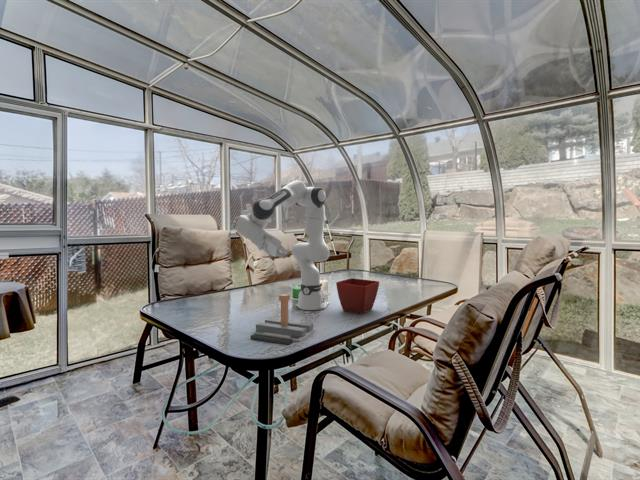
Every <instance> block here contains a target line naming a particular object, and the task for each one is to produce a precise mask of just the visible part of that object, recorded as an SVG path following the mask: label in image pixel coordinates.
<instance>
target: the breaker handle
mask: <svg viewBox="0 0 640 480" xmlns="http://www.w3.org/2000/svg"><path fill="white" fill-rule="evenodd" d="M290 300H291V294H289V293H282V294H280V295H278V301H280V319H281V325H285V326H288V320H289V301H290Z"/></svg>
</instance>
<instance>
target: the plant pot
mask: <svg viewBox="0 0 640 480" xmlns="http://www.w3.org/2000/svg"><path fill="white" fill-rule="evenodd" d="M335 283H336V290H337V295H338V299H339V302H340V305H341V309H342V311H344V312H348V311H349V313H353V312H356V313H355V314H359V313H363V314H365V313H367V312H366V311H368V310H370V309H372V310H373V307H374V305H375V301H376V298H377V294H378V291H379V286H380V281H379V280H378V281H377V280H368V279H360V278H352V277H351V278H347V279H344V280H340V281H336V282H335ZM370 311H371V310H370ZM364 312H365V313H364ZM368 312H369V311H368Z"/></svg>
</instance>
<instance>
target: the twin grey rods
mask: <svg viewBox="0 0 640 480" xmlns="http://www.w3.org/2000/svg"><path fill="white" fill-rule="evenodd" d="M250 339H251V340H255V341H256V340H257V341H264V342H268V343H269V342H271V343H276V344H282V345H290V344H292V343H293V341H294V340H292V339H288V338H281V337H275V336H268V335H261V334H251V335H250Z"/></svg>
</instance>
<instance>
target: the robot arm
mask: <svg viewBox="0 0 640 480" xmlns="http://www.w3.org/2000/svg"><path fill="white" fill-rule="evenodd" d="M326 201H327V193H326V190H325V189H324V188H323V187H320V186H307V185H306V184H305V183H304V182H303V181H302V180H299V179H297V180H293V181H291V182H289V183H288V184H286V185H284V186H283V187H282V188H281V189H279V190H277V191H275V192H274V193H272V194H271V195H269V196H267V197H264V198H259V199H257V200H256V201H254V203H253V205H252V206H253V207H252V210H251V213H248V214H244V215H243V214H240V215H239V216H238V217H237V218H236V220H235V223H234V229H235V231H236V232H237V233H238V234H239V235H241V236H242V237H243V238H244V239H247V240H249V241H250V242H251V243H252V244H253V245H255V246H256V247H257V248H258V249H259V250H260V251H263V252H265V253H266V254H268V255H270V256H271V257H275V258H276V256H277V257H280V258H281V259H282V260H283V259H284V260H285V258H286V257H287V254H288V252H289V251H288V250H287V249H286V248H285V247H284V246H283V245H282V242H283V241H281V240H280V239H278V238H277V237H275V236H274V235H272V233H270V232H269V231H267V230H266V229H265V228H266V227H267V226H268V224H269V222H270V221H271V220H270V219H271V217H272V216H273V214H274V212H275V210H276V209H275V208H277V207H278V206H280V205H281V206H282V207H284V208H291V207H293V206H294V205H295V206H298V207H307V213H306V218H305V222H304V223H305V224H304V233H305V235H307V236H308V241H309V242H298V243H295V244H294V245H293V246H292V249H291V253H292V256H293V257H294V259H295V260H296V261H297V263H298V267H299V268H300V269H299V270H300V276H301V278H300V279H301V281H300V282H301V283H300V288H299V289H300V291H299V292H298V300H297V303H296V304H295V306H296V307H298V308H299V309H300V310H303V311H304V310H305V311H316V310H325V309H326V308H327V307H328V306H329V305H330V302H329V301H327V300H326V294H325V293H324V292H323V290H322V288H323V283H322V282H321V283H320V281H321V280H320V279H321V278H320V275H321V274H320V273H321V272H320V270H319V268H318V267H317V266H316V265H315V263H321V262H326V261H327V260H328V259H329V258H330V255H331V253H330V252H331V251H330V248H329V246H328V244H326V242H325V238H324V225H325V219H326V218H325V216H326V209H325V202H326Z"/></svg>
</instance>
